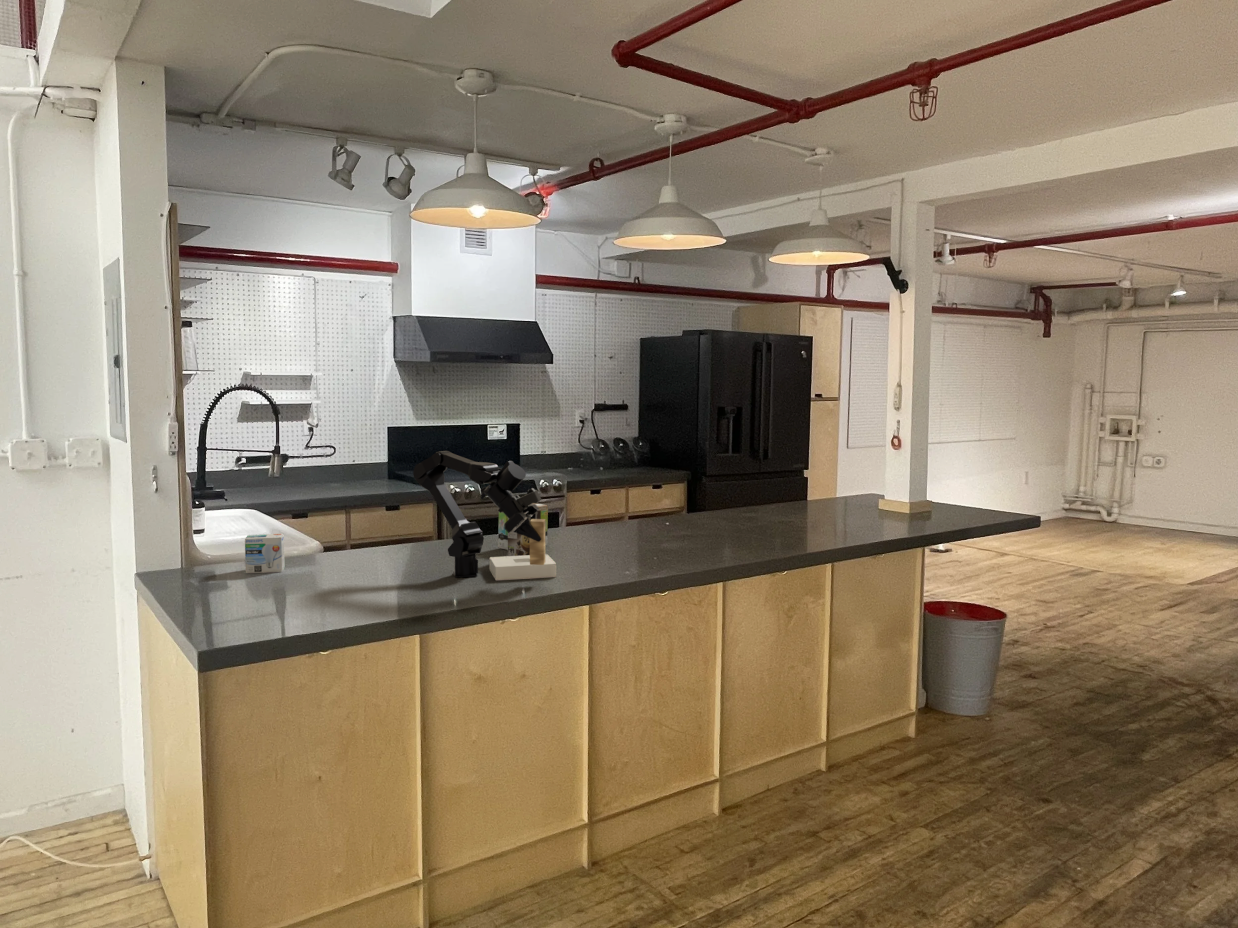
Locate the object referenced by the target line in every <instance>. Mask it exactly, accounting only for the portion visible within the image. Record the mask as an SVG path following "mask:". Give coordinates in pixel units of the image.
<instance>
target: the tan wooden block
mask: <svg viewBox="0 0 1238 928" xmlns="http://www.w3.org/2000/svg"><path fill="white" fill-rule="evenodd" d="M531 525H532V526H533V528H534V529H535V530H536V532H537V533H538V534H539V536H540V537H541V540H540V541H539V542H538V541H536V540H533V539H531V538H530V565H544V564H545V554H546V546H545V519H531Z"/></svg>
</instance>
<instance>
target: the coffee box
mask: <svg viewBox="0 0 1238 928" xmlns="http://www.w3.org/2000/svg"><path fill="white" fill-rule="evenodd" d="M537 513H538V514H537V519H541V511H540V510H538V511H537ZM508 520H509V518H508ZM516 529H517V528H516V527H515V528H514V529H513V530H512V531H511V532H510V533H508V550H507V556H524V555H530V538H529V537H526V536H524V535H521V534H518V533H514V531H515V530H516Z"/></svg>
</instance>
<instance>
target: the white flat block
mask: <svg viewBox="0 0 1238 928" xmlns="http://www.w3.org/2000/svg"><path fill="white" fill-rule="evenodd" d="M489 571H490V574H491V575H492V577H493V578H494V579H495V581H509V580H526V579H529V580H531V579H543V578H544V579H545V578H557V563H556V561H554V559H552V557H550V556H549V554H547V553H545V564H544V565H530V555H524V556H508V555H506V556H505V555H504V556H490V557H489Z"/></svg>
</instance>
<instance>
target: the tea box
mask: <svg viewBox="0 0 1238 928" xmlns="http://www.w3.org/2000/svg"><path fill="white" fill-rule="evenodd" d="M533 504H535V505H536V506H537V507H538V508H539V510H540V511H541V519H545V547H546V546H548V525H549V524H548V523H549V522H548V519H549V517H548V515H549V514H548V513H549V509H548V508H549V506H548V505H547V504H544V503H543V504H542V503H533ZM507 521H508V517H507V516H506V515H505V514H504V513H503V512H501V513H500V512H499V511H498V531H497V532H498V535H497V537H498V538H497V547H498V548H499V549H502V550H506V551H508V532H507V531H506V530H505V529H504V524H505V523H506V522H507Z"/></svg>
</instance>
